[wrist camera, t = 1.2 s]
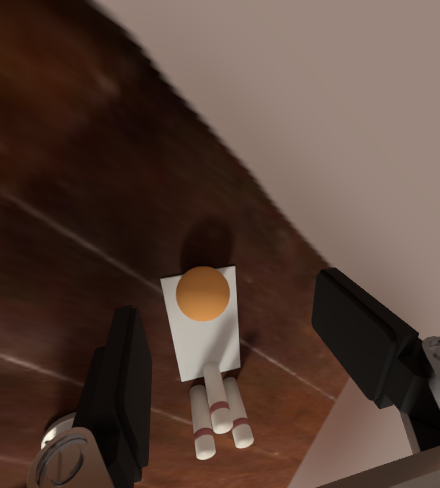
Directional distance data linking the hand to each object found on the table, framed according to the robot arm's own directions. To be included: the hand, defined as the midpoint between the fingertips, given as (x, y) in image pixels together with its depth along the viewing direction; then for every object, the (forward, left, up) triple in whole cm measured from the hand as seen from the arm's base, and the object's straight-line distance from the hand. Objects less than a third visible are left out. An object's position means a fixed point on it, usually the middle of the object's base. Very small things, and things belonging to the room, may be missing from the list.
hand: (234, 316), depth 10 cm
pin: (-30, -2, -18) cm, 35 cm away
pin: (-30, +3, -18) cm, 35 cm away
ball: (-10, 0, -15) cm, 18 cm away
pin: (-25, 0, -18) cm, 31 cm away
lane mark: (-18, 0, -18) cm, 25 cm away
